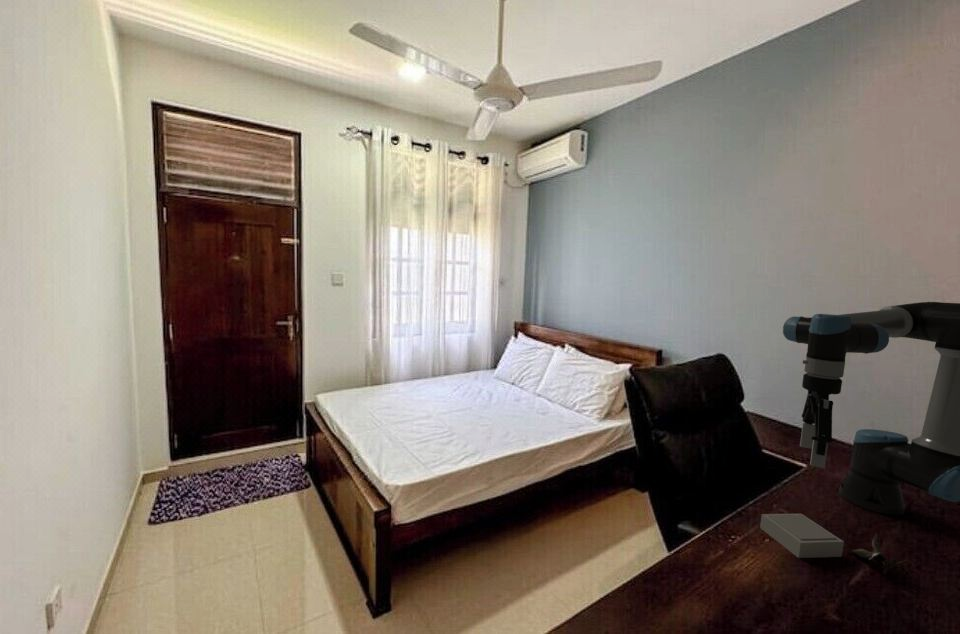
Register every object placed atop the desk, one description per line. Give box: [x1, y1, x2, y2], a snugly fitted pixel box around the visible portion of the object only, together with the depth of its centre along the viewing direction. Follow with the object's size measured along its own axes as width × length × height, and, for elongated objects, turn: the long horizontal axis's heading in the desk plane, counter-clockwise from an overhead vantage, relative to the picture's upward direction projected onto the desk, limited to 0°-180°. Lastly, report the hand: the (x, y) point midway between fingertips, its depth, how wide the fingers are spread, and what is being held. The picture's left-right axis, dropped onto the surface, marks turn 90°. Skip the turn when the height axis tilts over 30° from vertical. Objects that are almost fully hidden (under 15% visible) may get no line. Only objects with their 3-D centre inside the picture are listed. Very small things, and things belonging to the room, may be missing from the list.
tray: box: [759, 513, 845, 559], centre depth 107 cm, size 12×12×4 cm
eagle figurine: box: [850, 532, 908, 575], centre depth 100 cm, size 8×7×9 cm
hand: (811, 456), depth 104 cm, fingers open, 13 cm apart
